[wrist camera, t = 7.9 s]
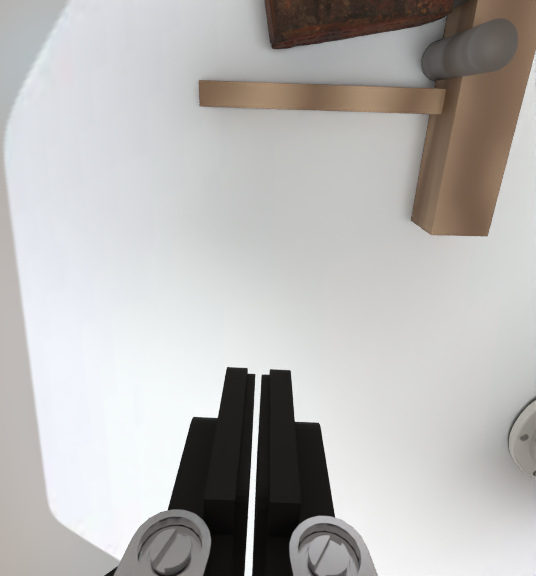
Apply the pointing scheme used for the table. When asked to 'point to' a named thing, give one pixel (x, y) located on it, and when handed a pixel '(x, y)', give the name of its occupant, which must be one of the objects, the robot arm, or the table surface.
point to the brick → (345, 18)
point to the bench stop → (438, 109)
